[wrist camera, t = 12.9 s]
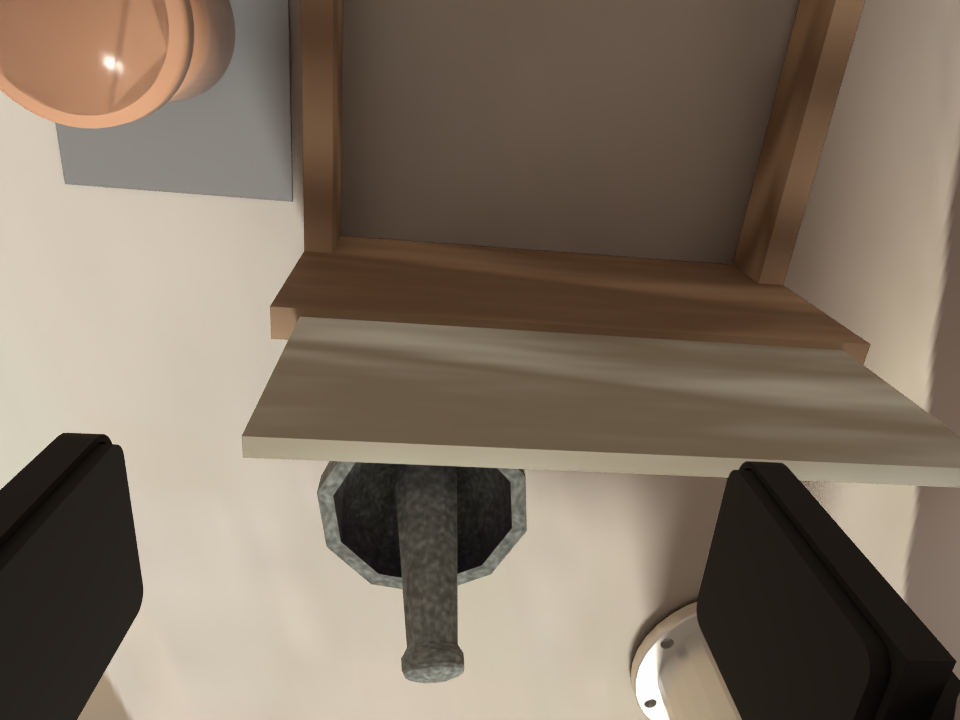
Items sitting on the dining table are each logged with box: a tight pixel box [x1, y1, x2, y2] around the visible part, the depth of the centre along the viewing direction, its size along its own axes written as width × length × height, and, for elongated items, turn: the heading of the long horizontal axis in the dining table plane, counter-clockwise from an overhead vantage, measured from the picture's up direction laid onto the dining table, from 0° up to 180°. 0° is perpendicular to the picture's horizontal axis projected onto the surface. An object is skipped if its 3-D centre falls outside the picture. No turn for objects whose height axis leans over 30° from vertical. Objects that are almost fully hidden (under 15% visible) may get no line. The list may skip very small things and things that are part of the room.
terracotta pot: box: [0, 0, 235, 129], centre depth 25 cm, size 7×7×8 cm
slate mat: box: [55, 0, 293, 202], centre depth 28 cm, size 14×10×1 cm
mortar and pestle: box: [317, 461, 527, 683], centre depth 32 cm, size 11×9×12 cm
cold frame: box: [242, 0, 960, 487], centre depth 22 cm, size 19×22×18 cm
